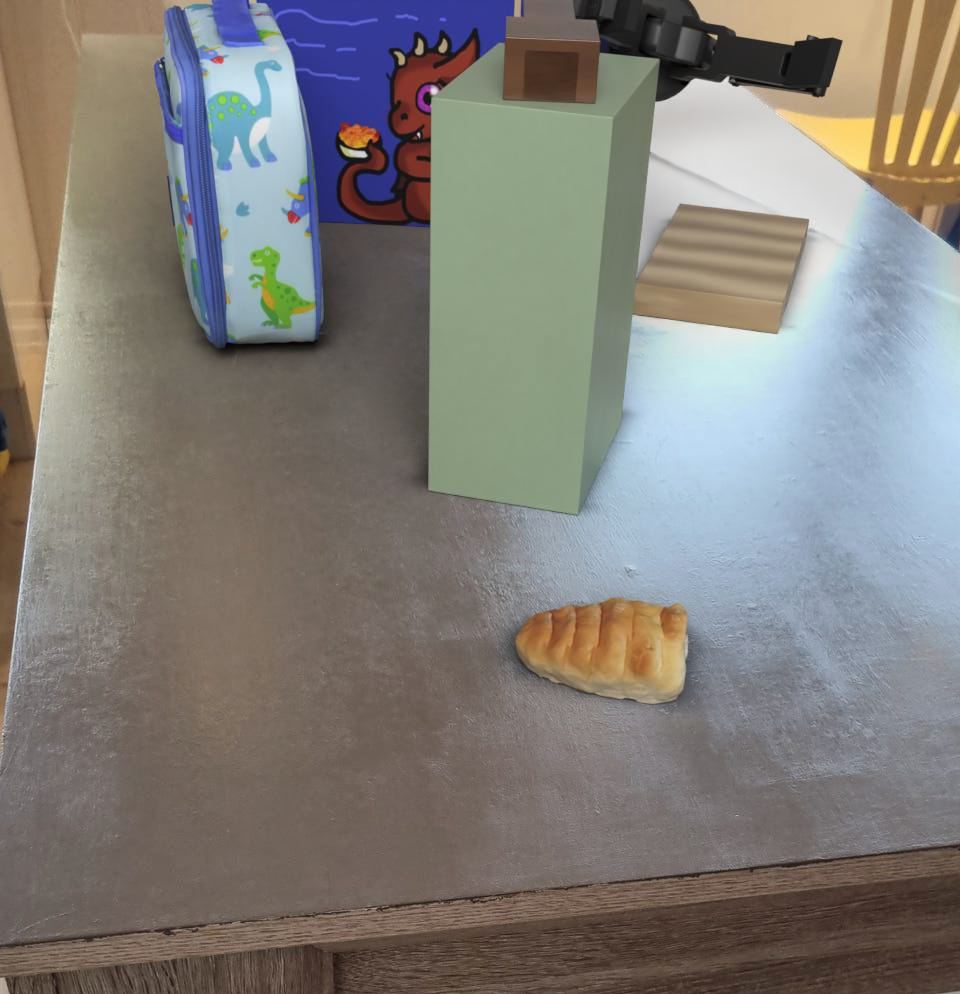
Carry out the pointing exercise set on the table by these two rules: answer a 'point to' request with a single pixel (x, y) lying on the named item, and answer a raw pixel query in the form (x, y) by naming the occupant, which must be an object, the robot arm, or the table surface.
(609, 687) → the pastry
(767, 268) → the maple board
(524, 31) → the walnut mallet
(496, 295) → the plinth
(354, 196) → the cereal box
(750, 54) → the robot arm
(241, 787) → the table surface
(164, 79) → the lunch box
